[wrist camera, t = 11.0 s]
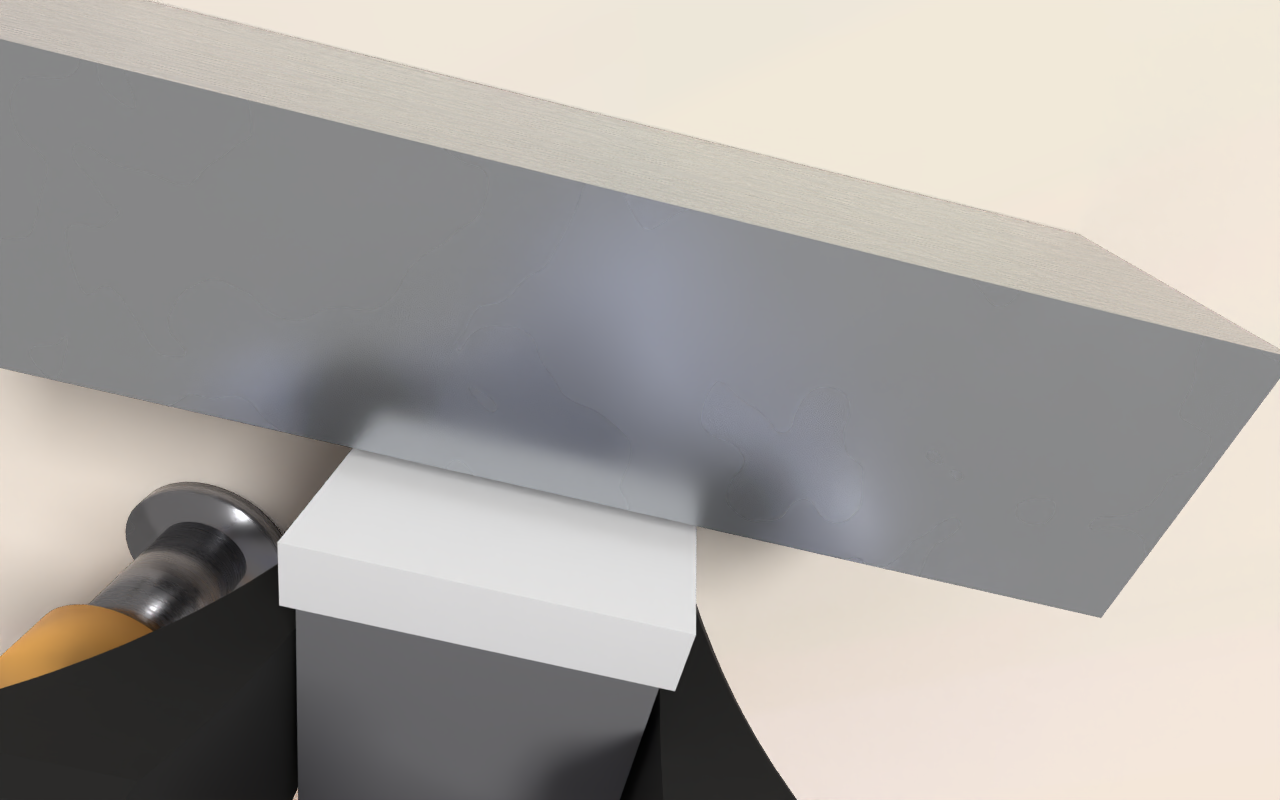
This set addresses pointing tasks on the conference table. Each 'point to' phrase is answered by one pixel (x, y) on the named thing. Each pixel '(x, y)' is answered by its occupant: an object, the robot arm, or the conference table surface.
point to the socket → (594, 306)
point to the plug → (477, 635)
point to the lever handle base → (189, 552)
